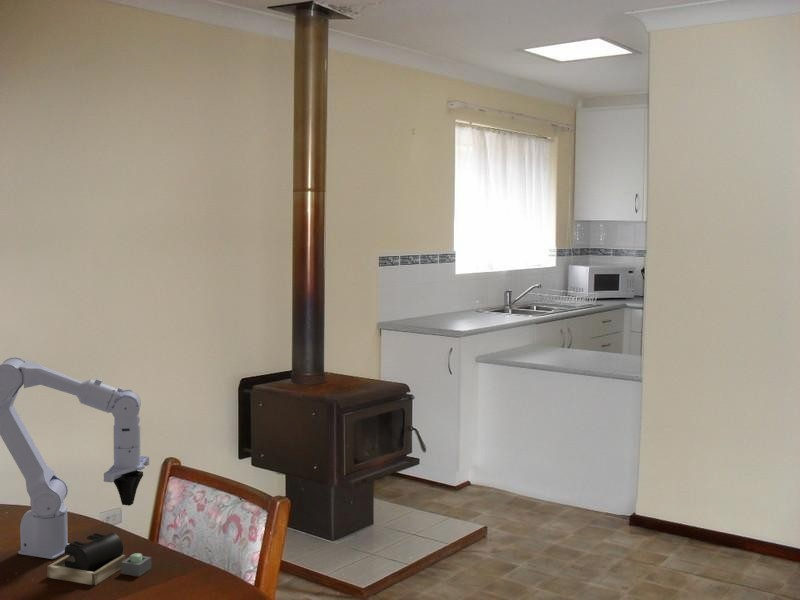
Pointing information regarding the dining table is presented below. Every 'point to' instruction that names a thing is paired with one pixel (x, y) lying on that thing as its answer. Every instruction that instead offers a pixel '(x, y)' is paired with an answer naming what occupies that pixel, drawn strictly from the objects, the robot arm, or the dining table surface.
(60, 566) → the cream square frame
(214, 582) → the dining table surface
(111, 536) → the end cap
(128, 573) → the button housing
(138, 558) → the button
